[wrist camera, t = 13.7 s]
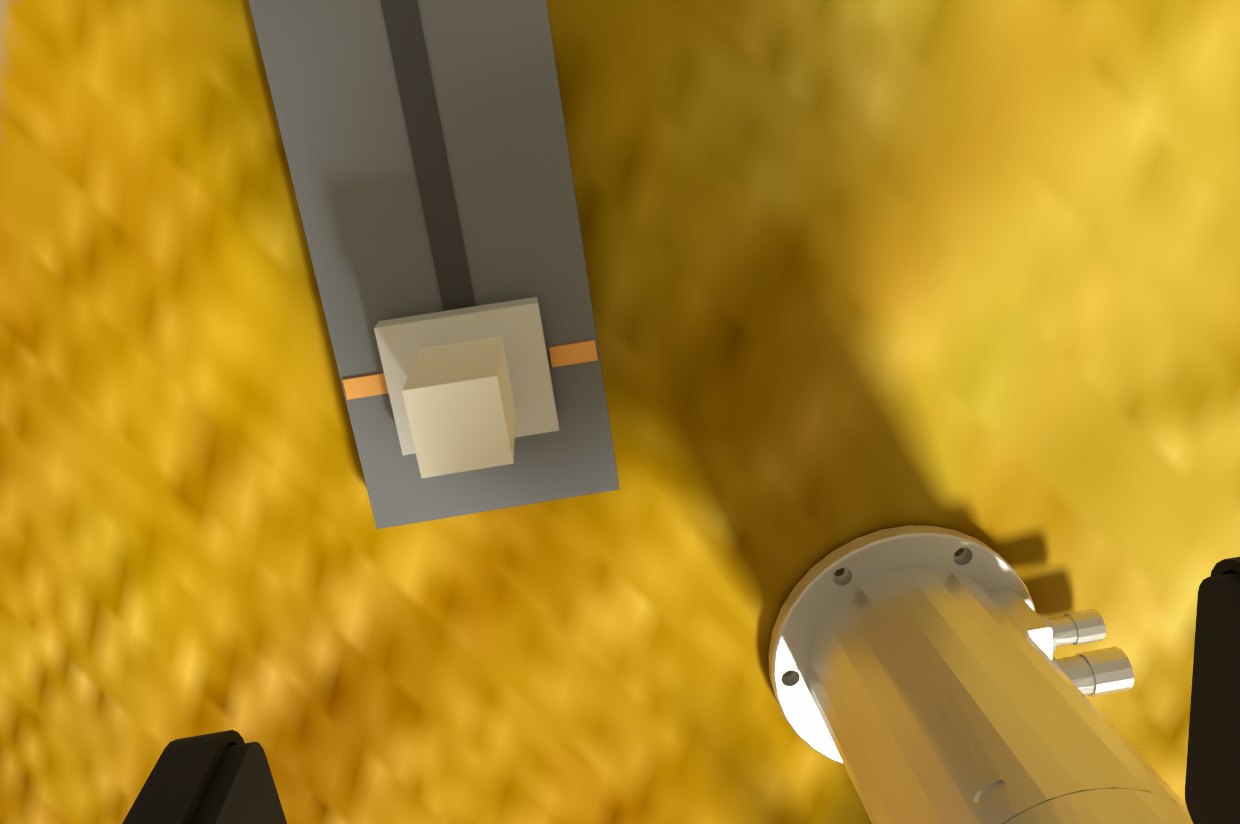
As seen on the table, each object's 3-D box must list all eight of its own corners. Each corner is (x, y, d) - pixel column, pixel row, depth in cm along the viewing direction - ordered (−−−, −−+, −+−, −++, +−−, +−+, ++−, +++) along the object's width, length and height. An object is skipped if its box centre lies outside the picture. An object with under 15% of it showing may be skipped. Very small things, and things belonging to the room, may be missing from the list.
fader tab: (537, 296, 36) (539, 337, 30) (558, 420, 37) (563, 484, 31) (378, 321, 36) (346, 367, 29) (406, 444, 37) (381, 514, 31)
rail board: (510, -224, 33) (509, -245, 31) (615, 471, 41) (619, 490, 39) (218, -186, 32) (197, -205, 30) (383, 509, 41) (376, 530, 38)
